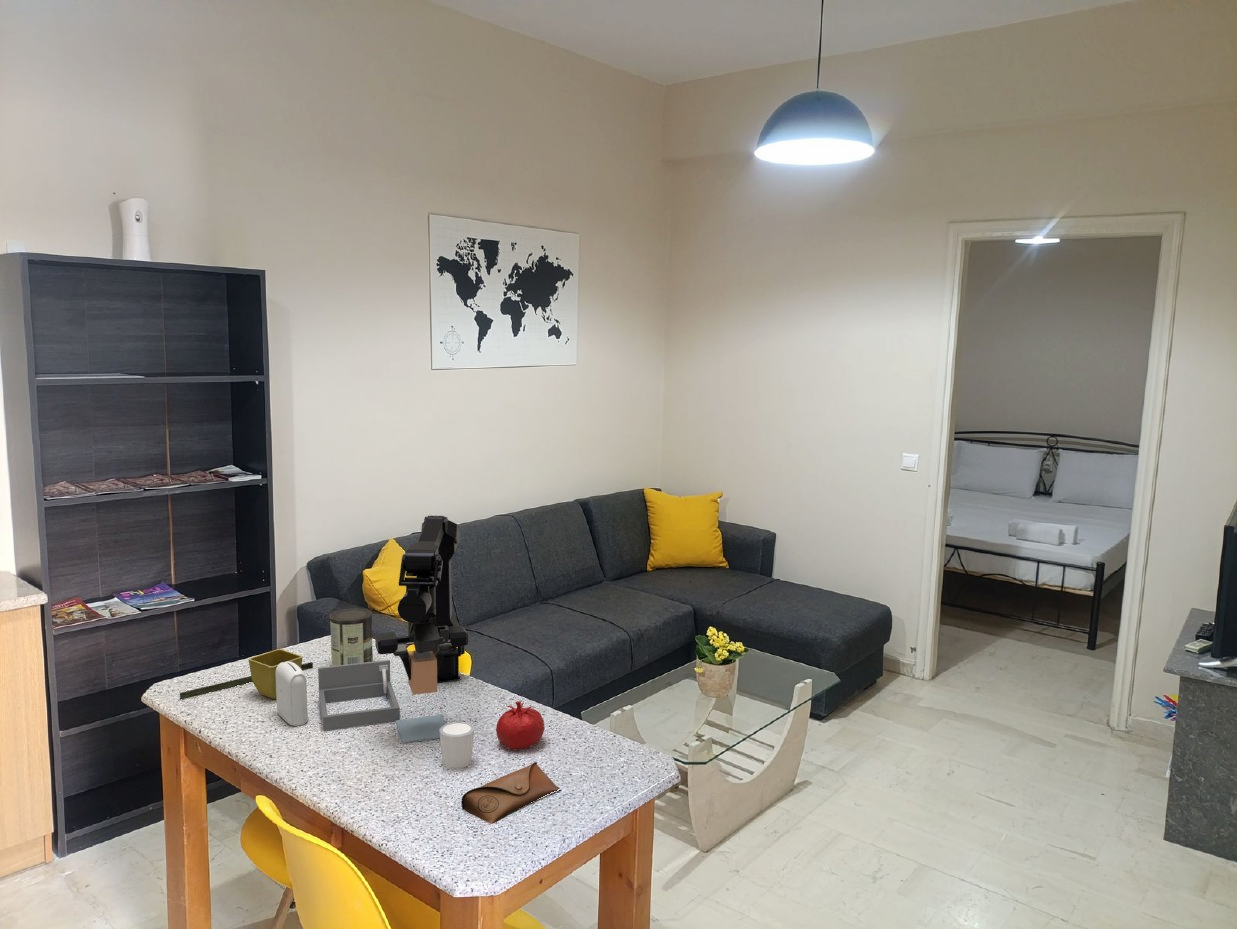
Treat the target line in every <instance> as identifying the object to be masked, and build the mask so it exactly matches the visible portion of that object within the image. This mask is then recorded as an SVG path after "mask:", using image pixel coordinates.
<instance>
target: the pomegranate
mask: <svg viewBox="0 0 1237 929" xmlns="http://www.w3.org/2000/svg"><path fill="white" fill-rule="evenodd" d="M515 705H516V707H514V706H512V705H506V707H507V708H510V709H509V710H507V711H504V712H503V713H502V715H501V716H500V717H498V718H499V719H498V720H497V721H496V722H497V723H496V726H495V727H496V728H495V730H496V731H495V732H496V737H497V739H498V741H499V742H500V744H501V745H502V746H503V747H506V748H508V749H509V750H510V751H520V750H525V749H529V748H530V747H533V746H535V745H537V744H538V743H539V742H540V741H541V739H542V737H543V735H544V732H545V720H544V718H543V716H542V714H541V712H539V711H538V710H537V709H536V707H537V706H532V705H531V706H528V707H524V702H522V701H516V702H515ZM534 708H535V709H534Z"/></svg>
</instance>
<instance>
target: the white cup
mask: <svg viewBox="0 0 1237 929" xmlns="http://www.w3.org/2000/svg"><path fill="white" fill-rule="evenodd" d="M439 730H440V738H439V739H440V747H441V749H440V750H441V758H442V765H443V766H444V767H446V768H448V769H463V768H465V767H467V766H470V765H471V763H472V759H473V758H472V757H473V750H474V738H475V726H474V725H473V724H472V723H469V722H467V721H453V722H448V723H446V724H445V725H443V726H442V727H441V728H440V729H439Z"/></svg>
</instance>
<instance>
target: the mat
mask: <svg viewBox="0 0 1237 929" xmlns="http://www.w3.org/2000/svg"><path fill="white" fill-rule="evenodd" d="M445 724H447V723H446V722H445V719H444V717H443V715H442V713H441V714H434V715H426V716H419V717H412V718H411V717H410V718H405V719H400V720H396V721H395V725H396V728H397V731H398V734H399V737H400V739H401V743H402V744H410V743H416V742H424V741H430V740H436V739H437V740H438V739H440V730H439V729H440V728H441V727H442V726H443V725H445Z"/></svg>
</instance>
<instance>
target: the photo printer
mask: <svg viewBox="0 0 1237 929" xmlns="http://www.w3.org/2000/svg"><path fill="white" fill-rule="evenodd" d="M307 685H308V684H307V676H306V673H304V670H303V671H302V670H301V668H300V667H299V666H298V665H296V664H295V663H293V662H290V661H286V662H282V663H280V664H279V665H278V666H277V668H276V710H277V714H278V715H279V717H281V718H282V719H283V720H284V721H285V722H286V723H287V724H288V725H290V726H293V727H296V726H302V725H304V724H306V723H307V722H308V718H309V717H308V714H309V713H308V712H309V711H308V691H307V690H308V689H307Z"/></svg>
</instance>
